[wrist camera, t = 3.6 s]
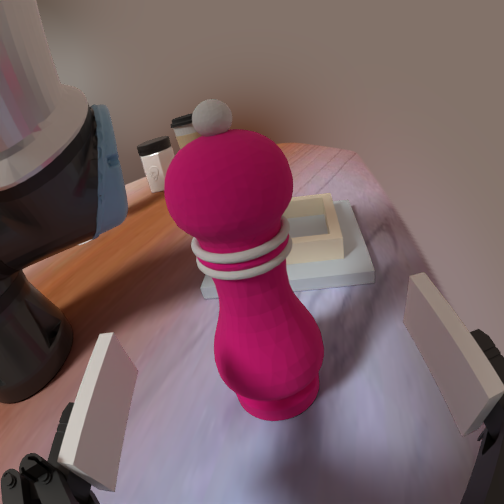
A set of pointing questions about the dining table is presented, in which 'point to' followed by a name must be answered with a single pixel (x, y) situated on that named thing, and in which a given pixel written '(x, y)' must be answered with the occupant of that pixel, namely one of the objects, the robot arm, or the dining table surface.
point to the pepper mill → (247, 262)
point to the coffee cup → (184, 130)
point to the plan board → (320, 247)
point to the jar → (156, 161)
